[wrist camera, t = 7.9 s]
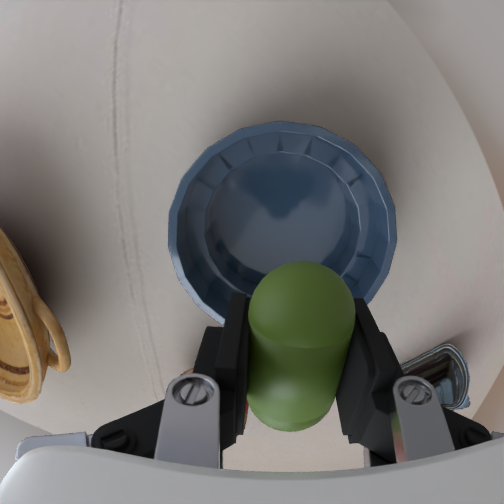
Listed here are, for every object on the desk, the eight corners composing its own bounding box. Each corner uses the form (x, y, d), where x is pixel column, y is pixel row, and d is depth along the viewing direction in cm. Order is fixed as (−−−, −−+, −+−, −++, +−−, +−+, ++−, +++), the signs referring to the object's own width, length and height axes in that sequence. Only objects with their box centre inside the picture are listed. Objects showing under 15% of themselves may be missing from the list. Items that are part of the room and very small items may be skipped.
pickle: (263, 240, 10) (234, 283, 8) (361, 252, 10) (369, 301, 7) (256, 382, 13) (234, 438, 10) (330, 393, 12) (322, 453, 9)
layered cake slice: (362, 420, 32) (449, 453, 23) (347, 403, 28) (453, 442, 19) (397, 355, 35) (480, 377, 27) (388, 327, 32) (487, 351, 23)
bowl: (232, 94, 20) (221, 83, 16) (403, 180, 22) (433, 193, 17) (164, 262, 25) (142, 291, 21) (318, 327, 27) (326, 364, 22)
